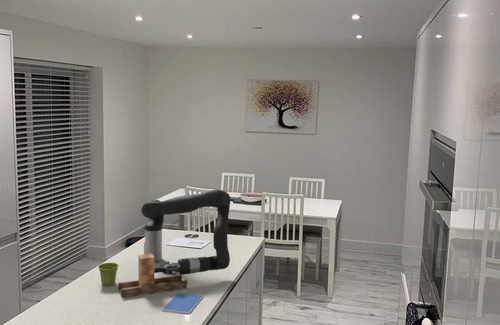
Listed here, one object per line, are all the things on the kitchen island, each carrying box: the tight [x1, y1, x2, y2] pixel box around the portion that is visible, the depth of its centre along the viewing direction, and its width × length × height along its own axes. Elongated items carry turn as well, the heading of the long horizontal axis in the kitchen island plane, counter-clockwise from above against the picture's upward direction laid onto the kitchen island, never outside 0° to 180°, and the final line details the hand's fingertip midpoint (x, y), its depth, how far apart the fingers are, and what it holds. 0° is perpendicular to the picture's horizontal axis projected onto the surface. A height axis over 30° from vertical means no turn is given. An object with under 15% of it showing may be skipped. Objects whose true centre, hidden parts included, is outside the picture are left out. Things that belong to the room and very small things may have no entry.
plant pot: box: [97, 262, 119, 286], centre depth 227 cm, size 9×9×9 cm
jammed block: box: [138, 253, 155, 286], centre depth 219 cm, size 6×6×15 cm
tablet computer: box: [161, 292, 204, 315], centre depth 206 cm, size 19×13×1 cm, turn 167°
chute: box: [117, 274, 188, 299], centre depth 221 cm, size 30×10×4 cm, turn 115°
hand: (152, 270), depth 220 cm, fingers closed
